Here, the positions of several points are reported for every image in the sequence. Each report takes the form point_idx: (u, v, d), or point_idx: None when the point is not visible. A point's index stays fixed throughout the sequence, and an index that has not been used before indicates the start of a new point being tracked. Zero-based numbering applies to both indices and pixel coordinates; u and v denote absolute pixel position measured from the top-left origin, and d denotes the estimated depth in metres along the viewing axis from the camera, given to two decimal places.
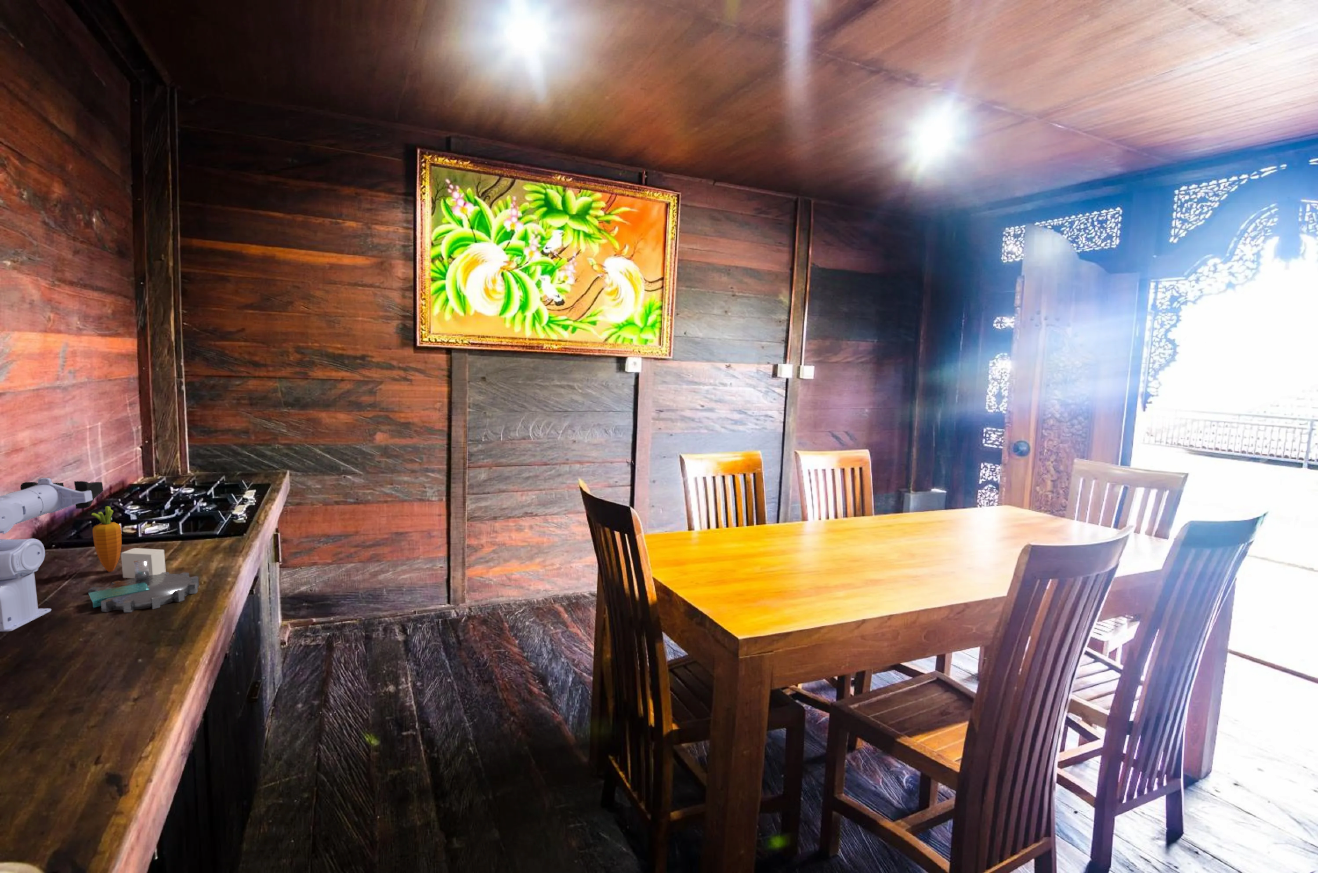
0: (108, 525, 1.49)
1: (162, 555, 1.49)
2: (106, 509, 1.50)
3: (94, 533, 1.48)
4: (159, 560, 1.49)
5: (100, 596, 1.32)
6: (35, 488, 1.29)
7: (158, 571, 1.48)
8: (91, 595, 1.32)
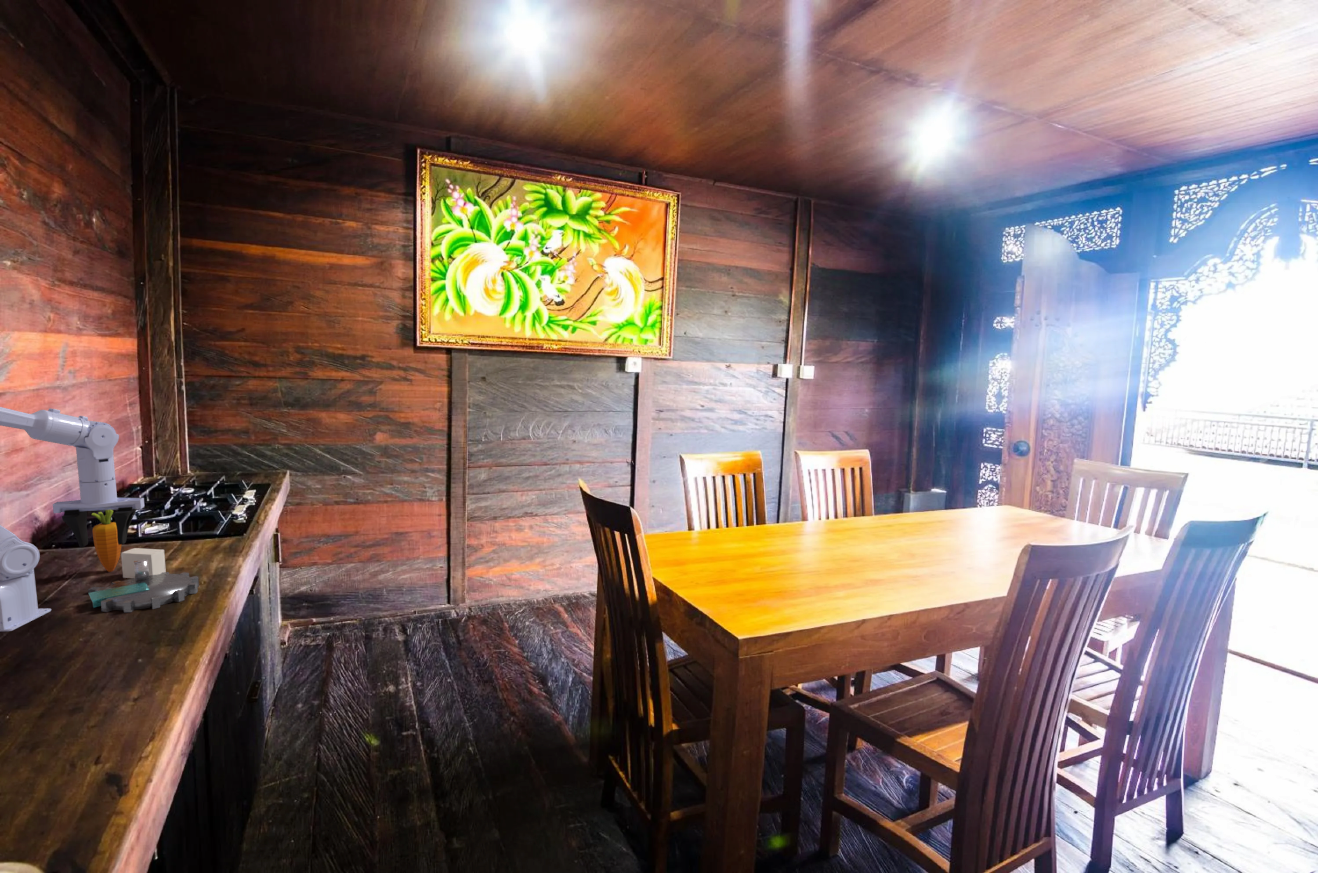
0: (108, 525, 1.49)
1: (162, 555, 1.49)
2: None
3: (94, 533, 1.48)
4: (159, 560, 1.49)
5: (100, 596, 1.32)
6: None
7: (158, 571, 1.48)
8: (91, 595, 1.32)
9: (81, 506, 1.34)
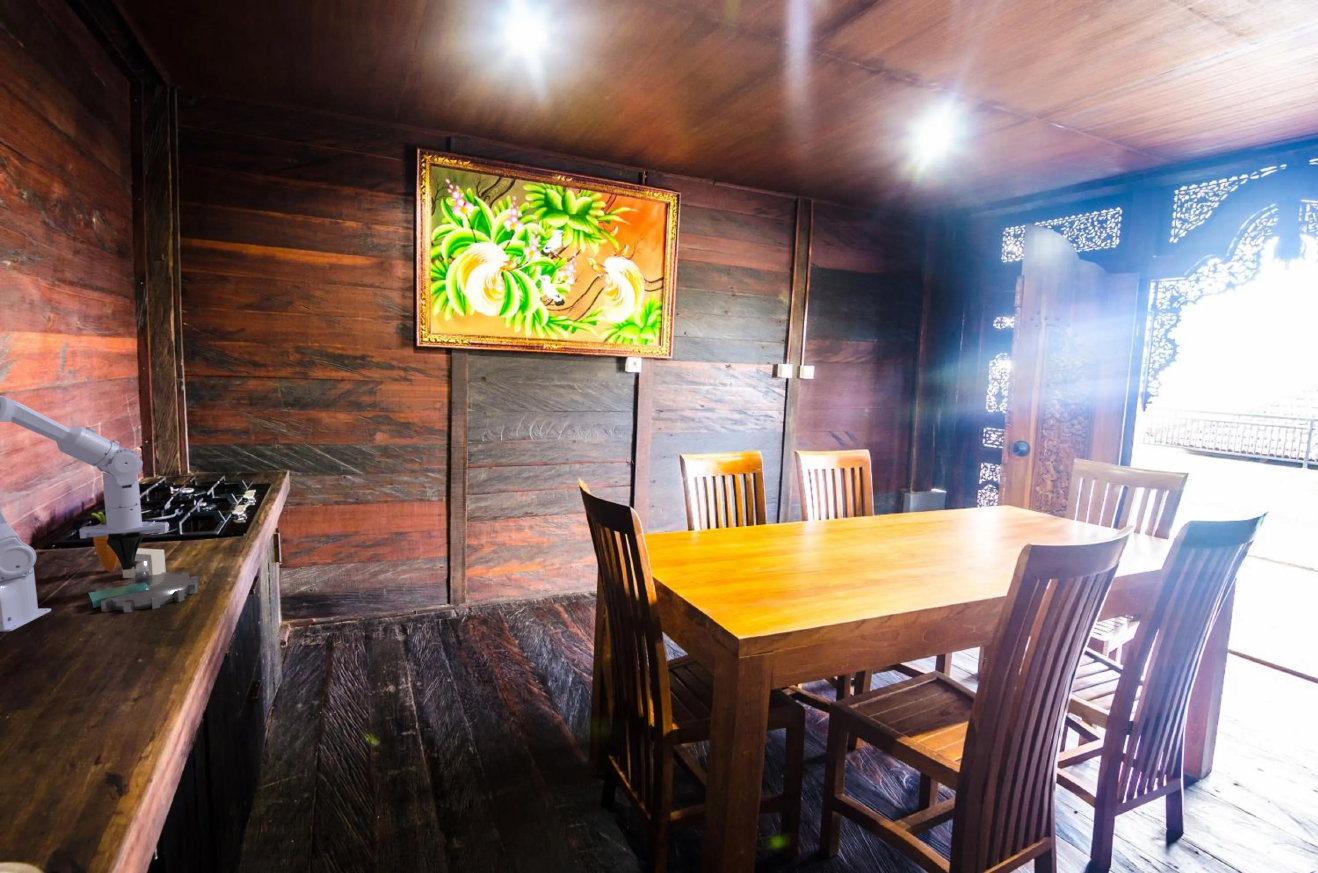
0: None
1: (162, 555, 1.49)
2: None
3: None
4: (159, 560, 1.49)
5: (100, 596, 1.32)
6: None
7: (158, 571, 1.48)
8: (91, 595, 1.32)
9: (107, 531, 1.36)
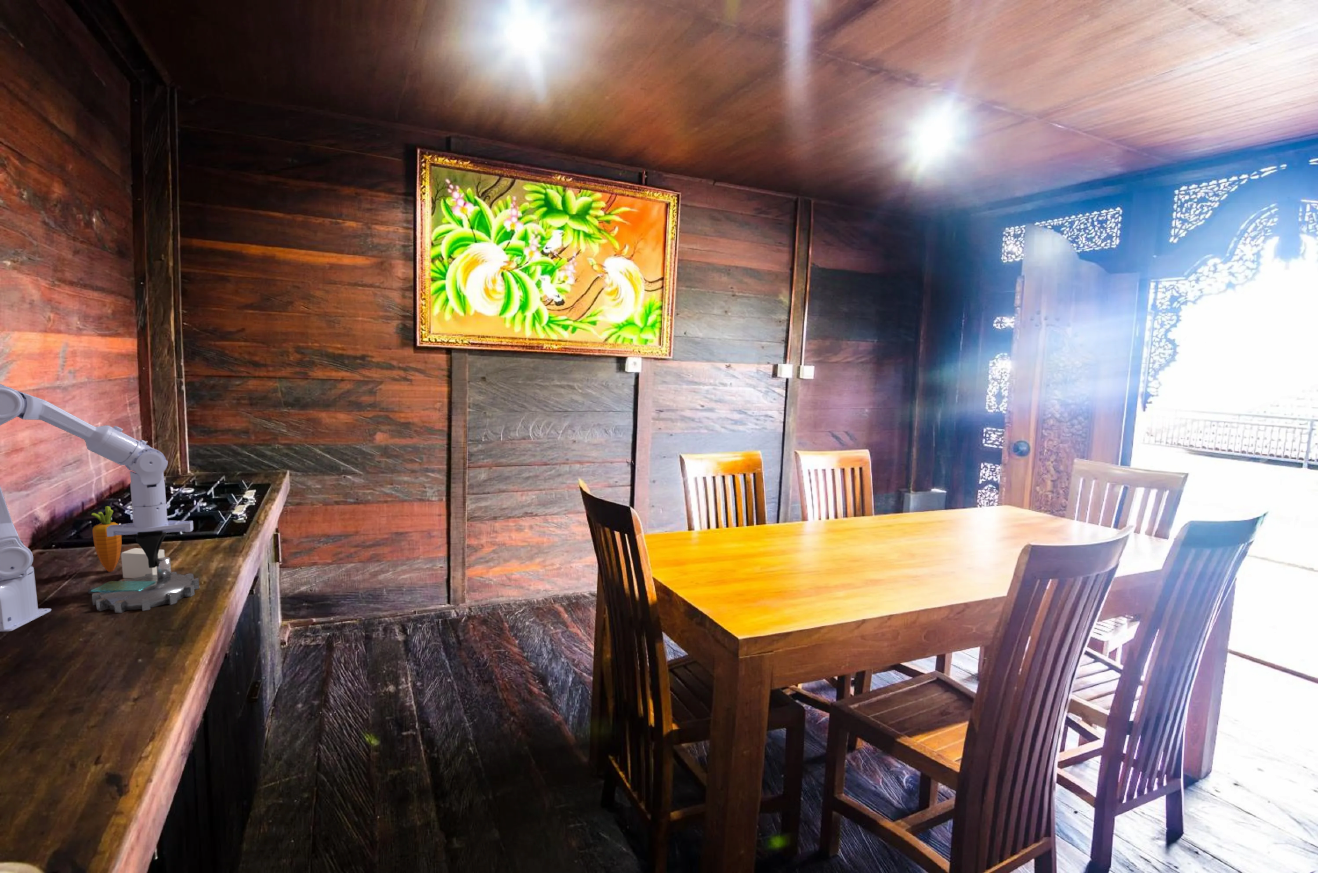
0: (108, 525, 1.49)
1: (162, 555, 1.49)
2: (106, 509, 1.50)
3: (94, 533, 1.48)
4: None
5: (103, 587, 1.36)
6: None
7: None
8: (103, 584, 1.38)
9: (134, 530, 1.38)
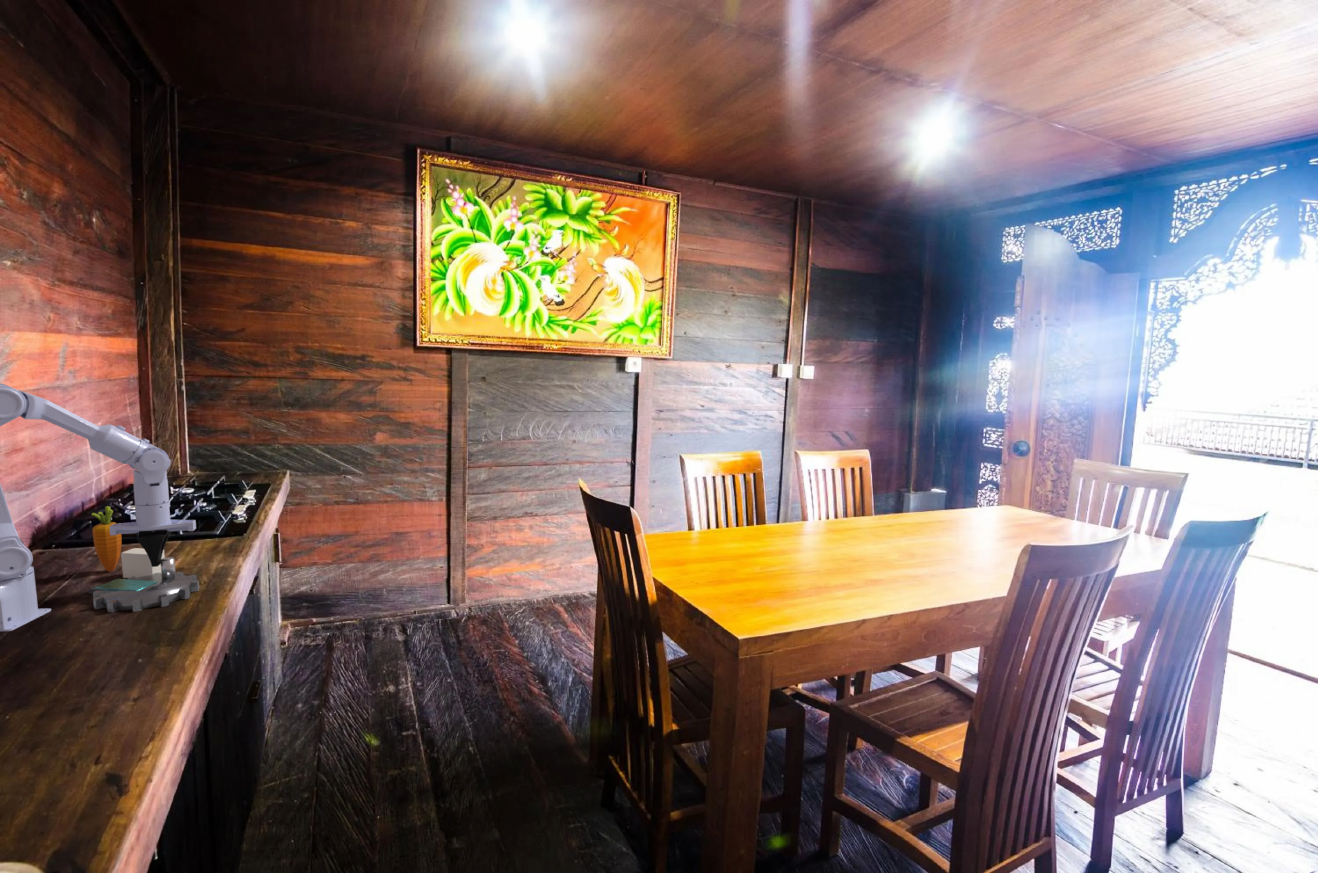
0: (108, 525, 1.49)
1: (162, 555, 1.49)
2: (106, 509, 1.50)
3: (94, 533, 1.48)
4: None
5: (107, 585, 1.37)
6: None
7: (158, 571, 1.48)
8: (110, 582, 1.39)
9: (137, 528, 1.38)
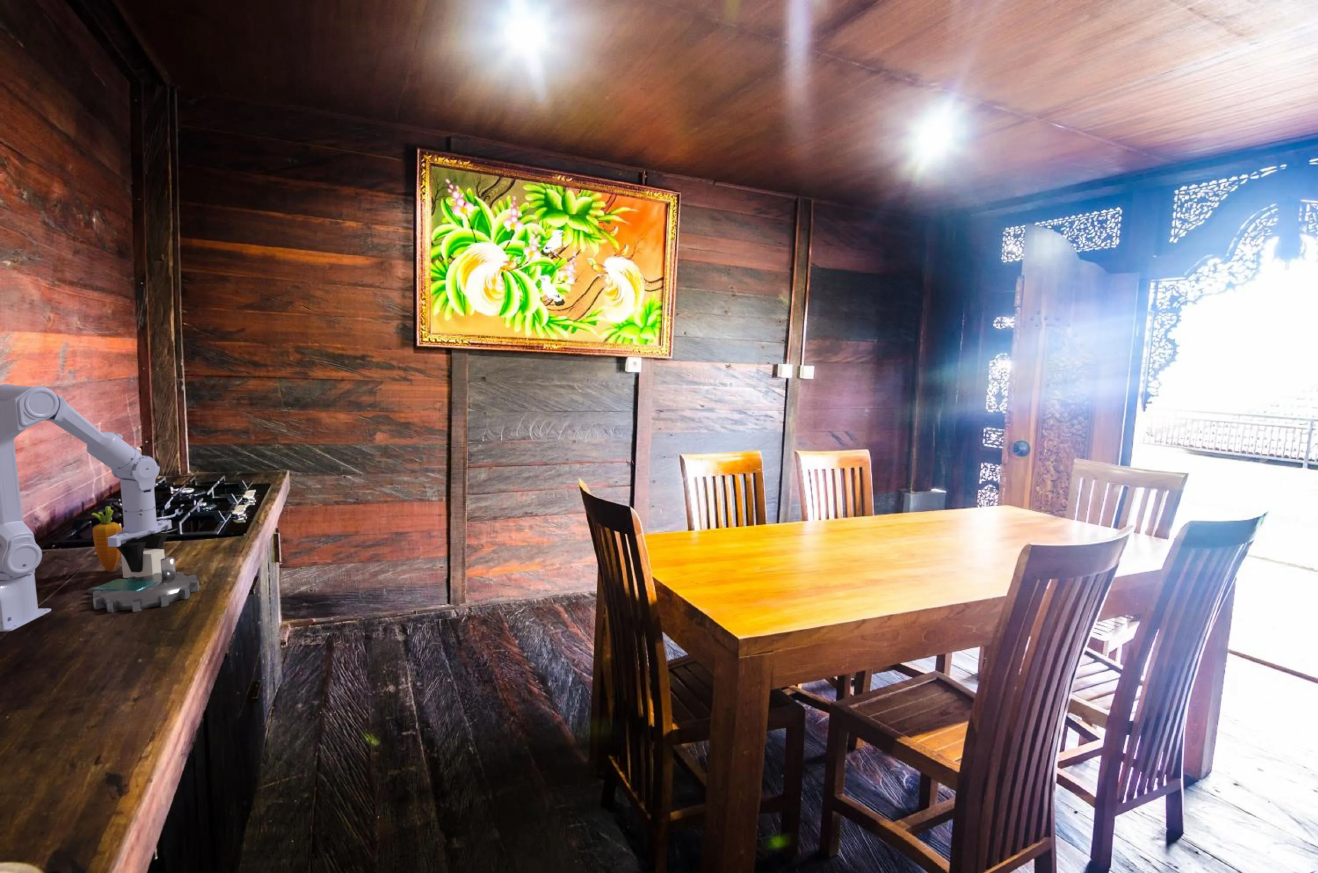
0: (108, 525, 1.49)
1: (162, 555, 1.49)
2: (106, 509, 1.50)
3: (94, 533, 1.48)
4: (159, 560, 1.49)
5: (107, 585, 1.37)
6: (148, 516, 1.46)
7: (158, 570, 1.48)
8: (110, 582, 1.39)
9: None
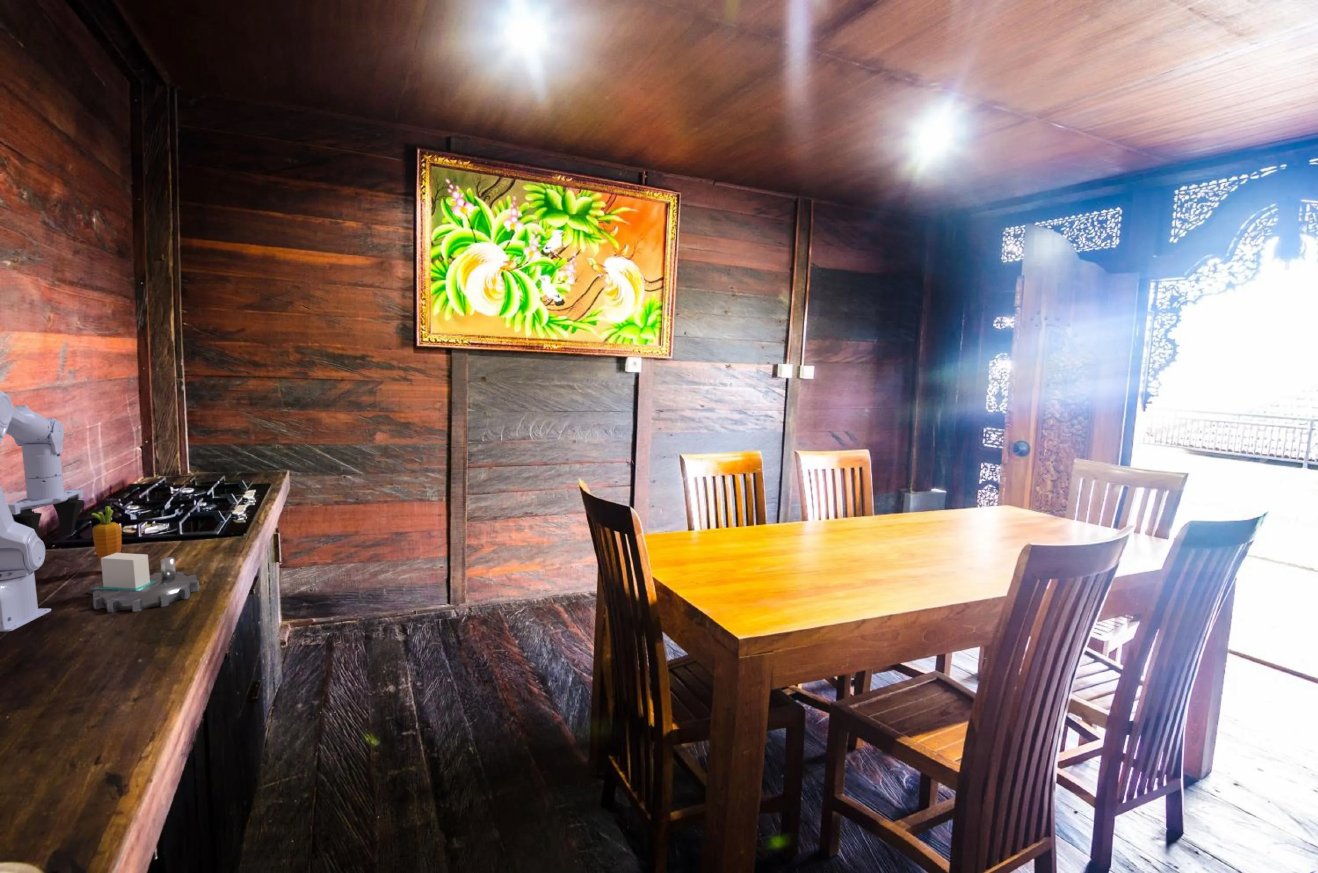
0: (108, 525, 1.49)
1: (146, 560, 1.38)
2: (106, 509, 1.50)
3: (94, 533, 1.48)
4: (142, 566, 1.38)
5: None
6: (53, 484, 1.38)
7: (141, 577, 1.37)
8: None
9: None
